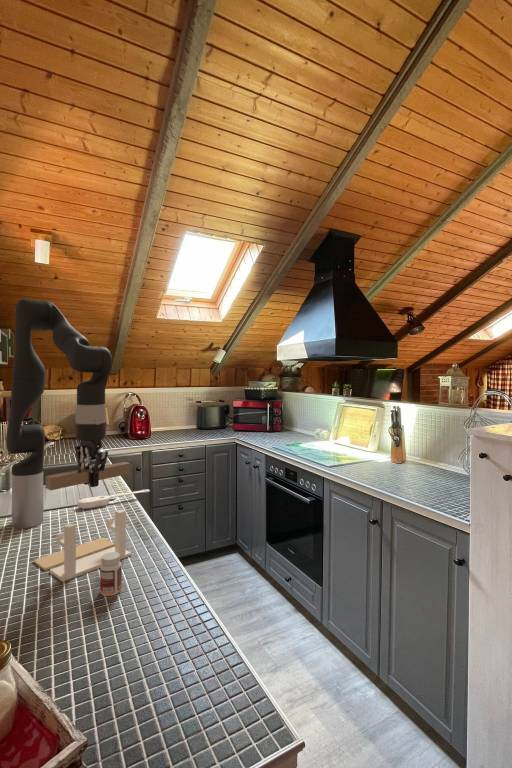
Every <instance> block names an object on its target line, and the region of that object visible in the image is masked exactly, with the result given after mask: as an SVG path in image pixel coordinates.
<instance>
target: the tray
mask: <svg viewBox="0 0 512 768" xmlns="http://www.w3.org/2000/svg"><path fill="white" fill-rule="evenodd" d="M112 547H115V542H113V541H111V540H110V539H107V538H105V537H100V538H97V539H94V540H91V541H87V542H84V543H81V544H78V545H76V560H78V559H81V558H84V557H87V556H89V555H92V554H95V553H98V552H101V551H103V550H106V549H109V548H112ZM33 563H34V564H35V565H36V566H38V567H39V568H40V569H41V570H43V571H48V570H50V569H53V568H56V567H58V566H61V565H64V549H63V550H59V551H57V552H53V553H51V554H47V555H45V556H42V557H39V558H35V559H33Z"/></svg>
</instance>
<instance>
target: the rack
mask: <svg viewBox="0 0 512 768" xmlns="http://www.w3.org/2000/svg"><path fill="white" fill-rule="evenodd" d="M114 514H115V515H114V518H113V517H110V518H106V528H107V529H109V530H111V531H113V532H114V543H115V546H113V547H110V548H108V549H105V550H102V551H99V552H96V553H93V554H91V555H88V556H85V557H82V558H79V559H76V546H77V526H76V525H77V524H74V523H68V524H65V525H64V526H63V528H64V529H63V531H62V532H57V533H56V544H58V545H59V546H61V547H62V548H63V550H64V564H62V565H59V566H57V567H54V568H51V569H49V573H50V574H51V575H52V576H54V577H55V578H57V579H58V580H59V581H61V582H62V583H63V582H66V581H69V580H71V579H75V578H76V577H79V576H81V575H84V574H87V573H89V572H92V571H94V570H97V569H100V566H101V564H102V556H103V555H104V554H106V553H110V552H117V553H119V554H120V561H121V560H123V559H126V558H128V557H131V556H132V552H131V551H129V550H127V549H126V546H127V545H126V543H127V542H126V541H127V540H126V532H127V530H126V528H127V526H126V525H127V519H126V514H127V512H126V510H124V509H122V508H121V509H118V510H115V513H114ZM114 520H115V521H114Z"/></svg>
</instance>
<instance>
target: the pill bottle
mask: <svg viewBox="0 0 512 768" xmlns="http://www.w3.org/2000/svg"><path fill="white" fill-rule="evenodd" d="M122 564H123V563H122V562H121V560H120V554H119V553H117V552H110V553H106V554H104V555H103V556H102V564H101V566H100V568H99V576H100V578H99V585H100V586H99V589H100V590H99V592H100V594H101V596H104V597H111V596H116V595H118V594H119V593H120V592H121V591H122V582H123V581H122V580H123V579H122V574H123V573H122V571H123V570H122Z"/></svg>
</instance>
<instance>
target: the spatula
mask: <svg viewBox="0 0 512 768" xmlns="http://www.w3.org/2000/svg"><path fill="white" fill-rule="evenodd" d="M149 492H151V490H150V489H142V490H138V491H137V490H136V491H130V492H123V493H117V494H111V495H99V496H98V495H97V496H93V497H86V498H81V499H79V500H77V505H76V506H77V507H78V508H80V509H82V510H84V509H85V510H86V509H93V508H99V507H105V506H107V505H108V506H109V503H110V499H112V498H117V497H123V496H129V495H134V494H136V495H137V494H140V493H141V494H143V493H149Z"/></svg>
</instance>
